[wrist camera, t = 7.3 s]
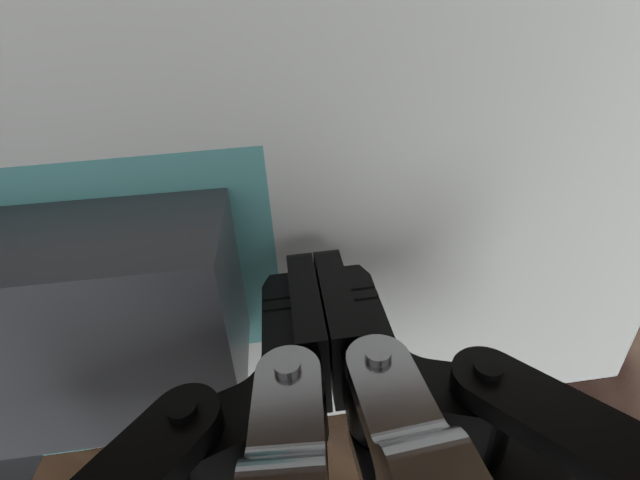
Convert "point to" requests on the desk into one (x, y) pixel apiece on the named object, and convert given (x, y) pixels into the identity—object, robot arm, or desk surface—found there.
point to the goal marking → (162, 177)
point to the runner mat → (381, 145)
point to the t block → (112, 315)
